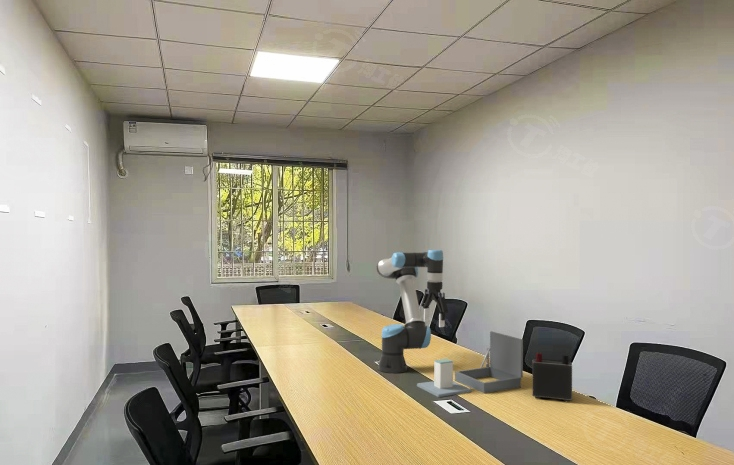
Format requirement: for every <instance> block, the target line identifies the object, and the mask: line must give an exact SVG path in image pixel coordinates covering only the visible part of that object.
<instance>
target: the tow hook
mask: <svg viewBox="0 0 734 465" xmlns="http://www.w3.org/2000/svg"><path fill="white" fill-rule="evenodd" d="M488 348H489V347H487V349H486V352H487V351H488ZM485 363H486V364H485V367H490V353H489V354H488V356H487V358H486V362H485Z"/></svg>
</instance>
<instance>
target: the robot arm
mask: <svg viewBox="0 0 734 465" xmlns="http://www.w3.org/2000/svg"><path fill="white" fill-rule="evenodd" d="M419 268H427V270H426V271H427V272H426V280H427V282H426V287H427V288H426V289H425V290H424V294H423V297H422V298H423V299H422V301H421V304H420V306H421V307H422V308H423V319H422V315H421V311H420V306H419V300H418V295H417V290H416V286H415V282H416V278H417V277H418V274H419ZM443 268H444V251H443V250H442V249H428V250H427V251H422V252H403V251H402V252H401V251H400V252H393V254H392V256H391V257H390V258H383V259H381V260H379V261H378V263H377V264H376V272H377V274H378V275H379V276H381V277H383V278H384V279H392V280H393V279H394V280H395V282H396V284H397V285H399V292H400V296H401V302H402V307H403V311H404V312H403V313H404V317H405V323H404V324H399V323H397V324H396V323H394V324H389V325H385V326H384V327H382V330H381V355H380V359H379V362H378V365H377V366H378V370H379V371H380V372H383V373H387V374H388V373H389V374H397V373H399V374H400V373H403V372H406V371H407V370H408V368H407V366H408V365H407V362H406V358H405V356H404V350H414V349H415V350H417V349H418V350H420V349H426V348H428V347H429V345H430V343H431V340H432V330H431V328H430V326H428V325H426V323H427V322H430V305H431V304H432V302H433V301H434V302H435V303H436V306H437V307H438V310H439V313H438V314H439V315H438V319H439V320H438V327H439V328H444V327H445V326H446V324H445V321H446V314H447V313H449V309H448V305H447V301H446V296H445V294H446V293H445V292H441V290H443V276H444V275H443V273H444V269H443Z"/></svg>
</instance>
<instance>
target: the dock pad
mask: <svg viewBox="0 0 734 465" xmlns="http://www.w3.org/2000/svg"><path fill="white" fill-rule="evenodd" d="M416 387H418V388H419V389H421V390H423V391H426V392H428V393H429V394H431V395H433V396H435V397H437V398H442V397H449V396H453V395H454V396H455V395H461V394H466V393H467V394H468V393H472V388H470V387H468V386H466V385H464V384H461V383H459V382H457V381H455V380H453V387H449V388H443V389H440V388H438V387H435V386H434V380H433V381H425V382H418V383H416Z"/></svg>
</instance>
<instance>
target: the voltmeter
mask: <svg viewBox="0 0 734 465" xmlns="http://www.w3.org/2000/svg"><path fill="white" fill-rule="evenodd" d="M561 358H562V360H555V359H543V353H542V352H535V359H532V396H533V397H535V399H536V398H540V399H541V398H550V399H559V400H563V402H565V401H567V403H568V401H569V402H570V401H571V400H573V363H572V362H569V355H568V354H562V356H561Z"/></svg>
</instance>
